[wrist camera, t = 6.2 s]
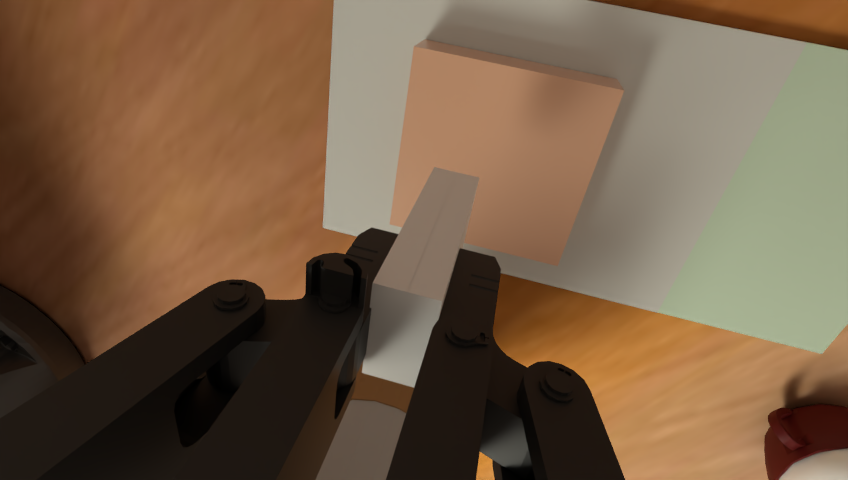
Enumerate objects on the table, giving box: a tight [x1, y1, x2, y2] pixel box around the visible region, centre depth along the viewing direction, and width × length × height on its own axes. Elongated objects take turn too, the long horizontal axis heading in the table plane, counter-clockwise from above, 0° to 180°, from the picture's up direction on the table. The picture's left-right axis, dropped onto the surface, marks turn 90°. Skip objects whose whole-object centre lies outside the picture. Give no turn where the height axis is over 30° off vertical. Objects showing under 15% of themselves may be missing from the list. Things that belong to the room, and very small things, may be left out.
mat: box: [323, 0, 848, 354], centre depth 21 cm, size 26×13×1 cm, turn 81°
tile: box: [390, 39, 624, 266], centre depth 21 cm, size 2×8×8 cm
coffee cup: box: [316, 362, 414, 480], centre depth 23 cm, size 8×8×15 cm
